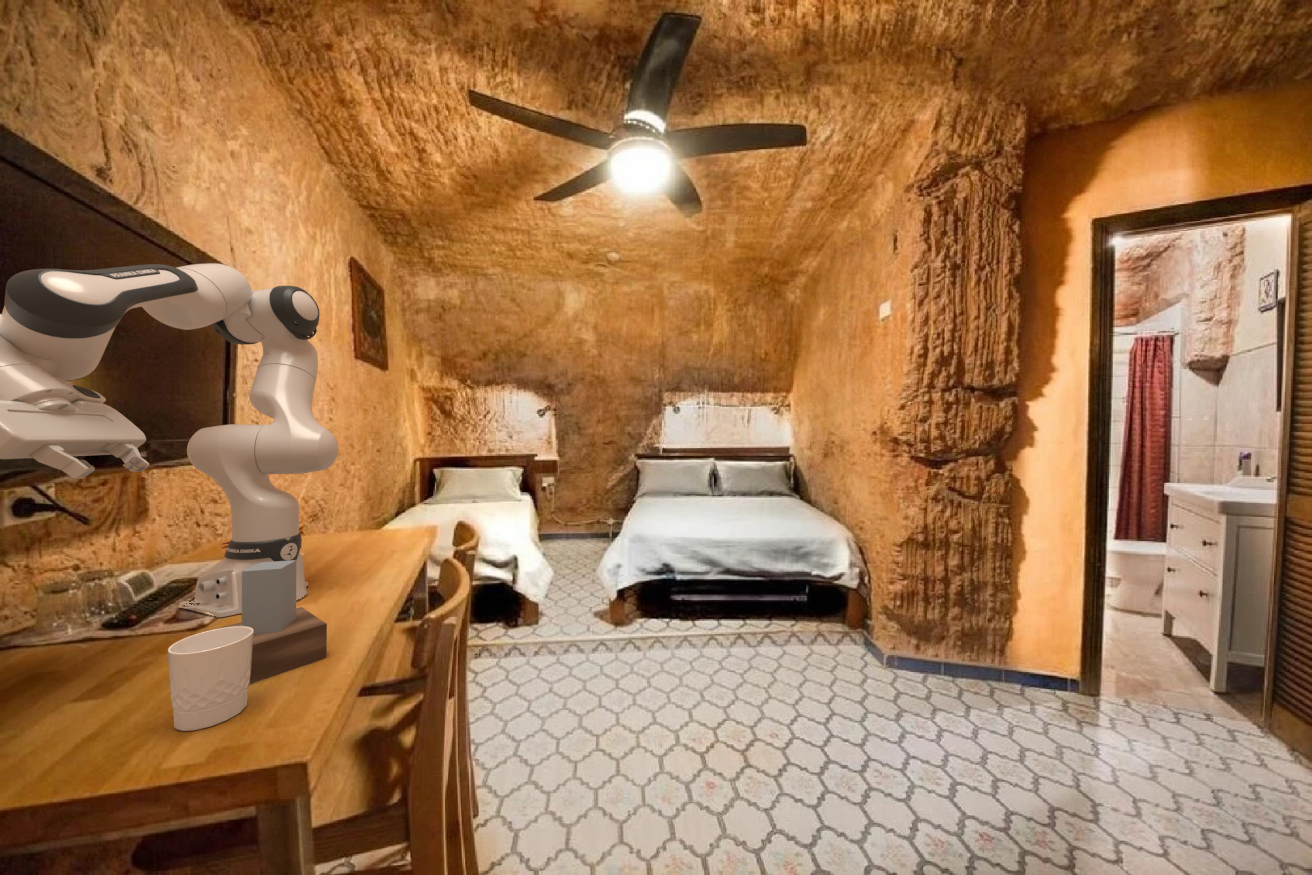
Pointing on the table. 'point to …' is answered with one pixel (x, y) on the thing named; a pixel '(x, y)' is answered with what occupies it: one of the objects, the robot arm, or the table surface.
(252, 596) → the slate block
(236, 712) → the white cup
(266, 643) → the walnut box
